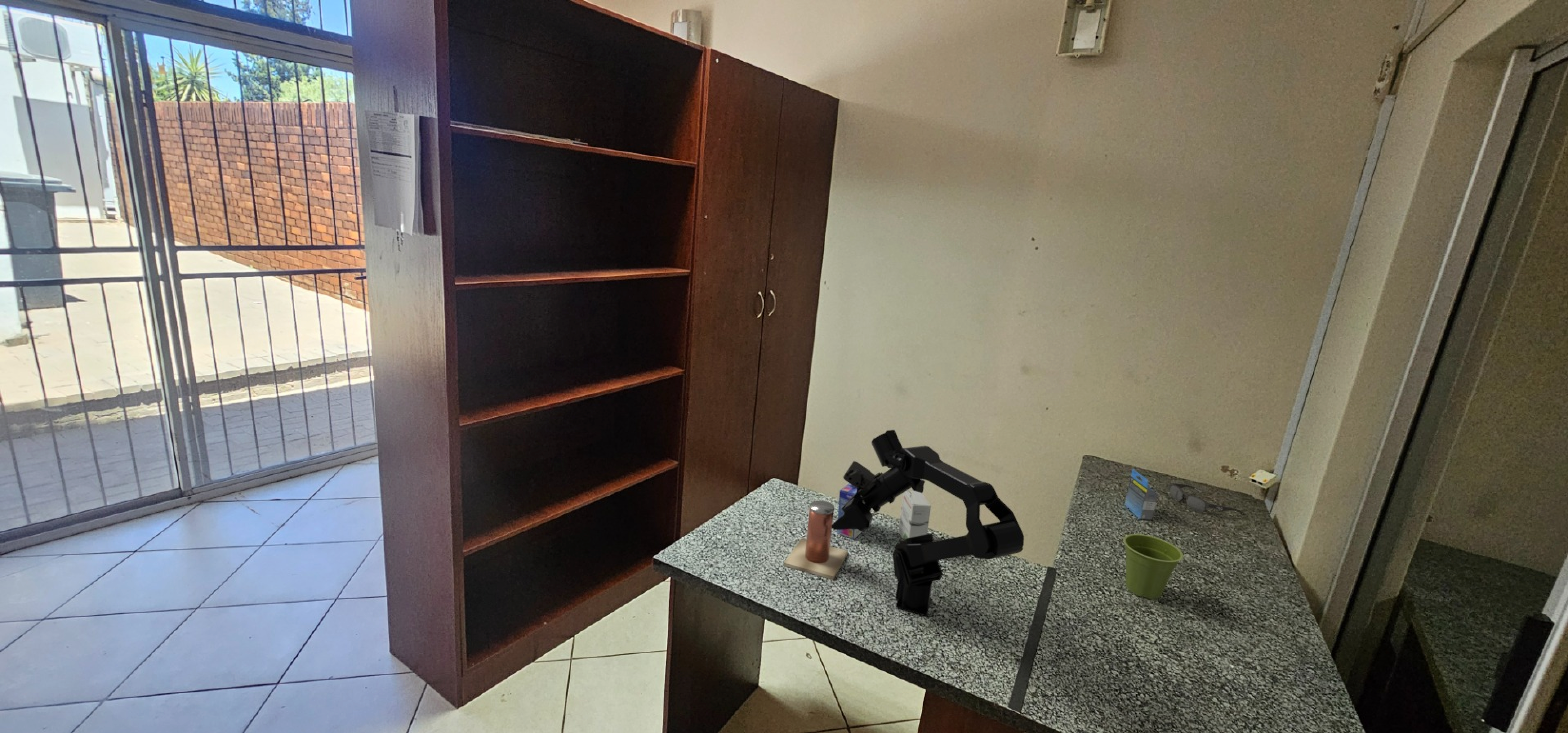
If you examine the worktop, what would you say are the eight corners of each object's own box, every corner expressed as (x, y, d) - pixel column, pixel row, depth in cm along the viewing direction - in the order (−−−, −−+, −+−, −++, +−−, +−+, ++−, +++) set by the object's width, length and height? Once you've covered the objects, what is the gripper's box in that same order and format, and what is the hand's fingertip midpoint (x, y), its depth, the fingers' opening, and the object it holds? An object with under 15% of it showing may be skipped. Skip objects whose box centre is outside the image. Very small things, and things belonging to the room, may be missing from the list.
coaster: (847, 553, 147) (847, 550, 147) (833, 579, 136) (833, 576, 136) (800, 541, 151) (801, 538, 151) (783, 565, 140) (783, 562, 140)
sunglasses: (1159, 494, 196) (1163, 479, 195) (1199, 497, 201) (1204, 483, 199) (1204, 519, 181) (1209, 503, 179) (1246, 522, 185) (1252, 507, 184)
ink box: (926, 548, 152) (932, 505, 149) (906, 548, 152) (912, 505, 149) (915, 531, 160) (921, 490, 158) (897, 530, 160) (902, 489, 157)
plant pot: (1122, 569, 149) (1132, 528, 146) (1178, 593, 141) (1189, 549, 138) (1106, 587, 141) (1116, 544, 138) (1163, 613, 133) (1175, 567, 130)
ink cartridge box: (851, 518, 165) (857, 468, 161) (870, 525, 162) (876, 474, 158) (834, 533, 156) (839, 481, 153) (853, 540, 154) (859, 487, 150)
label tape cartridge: (1152, 520, 177) (1162, 481, 174) (1139, 519, 177) (1148, 480, 174) (1136, 506, 185) (1144, 468, 182) (1123, 505, 185) (1131, 467, 182)
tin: (831, 554, 145) (837, 504, 142) (824, 565, 140) (830, 514, 137) (809, 547, 147) (814, 498, 144) (801, 559, 142) (806, 508, 139)
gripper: (876, 441, 142) (827, 475, 148) (858, 470, 125) (803, 507, 131) (906, 479, 141) (855, 512, 147) (892, 513, 124) (835, 549, 130)
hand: (837, 518), depth 139 cm, fingers open, 9 cm apart
